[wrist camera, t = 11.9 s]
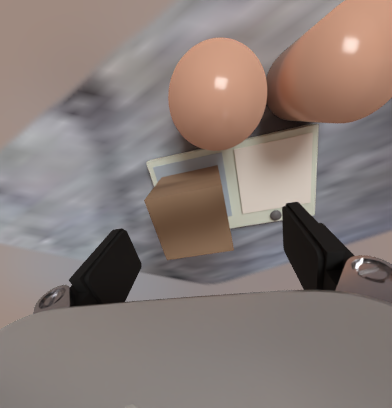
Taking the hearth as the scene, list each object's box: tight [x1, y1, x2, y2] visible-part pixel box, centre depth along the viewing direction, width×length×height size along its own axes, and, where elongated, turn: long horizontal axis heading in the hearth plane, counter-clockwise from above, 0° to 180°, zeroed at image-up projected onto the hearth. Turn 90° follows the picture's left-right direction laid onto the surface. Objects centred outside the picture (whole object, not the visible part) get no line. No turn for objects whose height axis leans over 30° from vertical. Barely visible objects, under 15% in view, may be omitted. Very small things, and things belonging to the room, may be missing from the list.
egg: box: [168, 38, 267, 151], centre depth 12 cm, size 5×5×6 cm
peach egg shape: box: [266, 0, 392, 123], centre depth 11 cm, size 5×5×6 cm
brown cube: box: [144, 165, 234, 260], centre depth 15 cm, size 5×5×5 cm
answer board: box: [147, 124, 319, 228], centre depth 17 cm, size 14×8×1 cm, turn 103°
